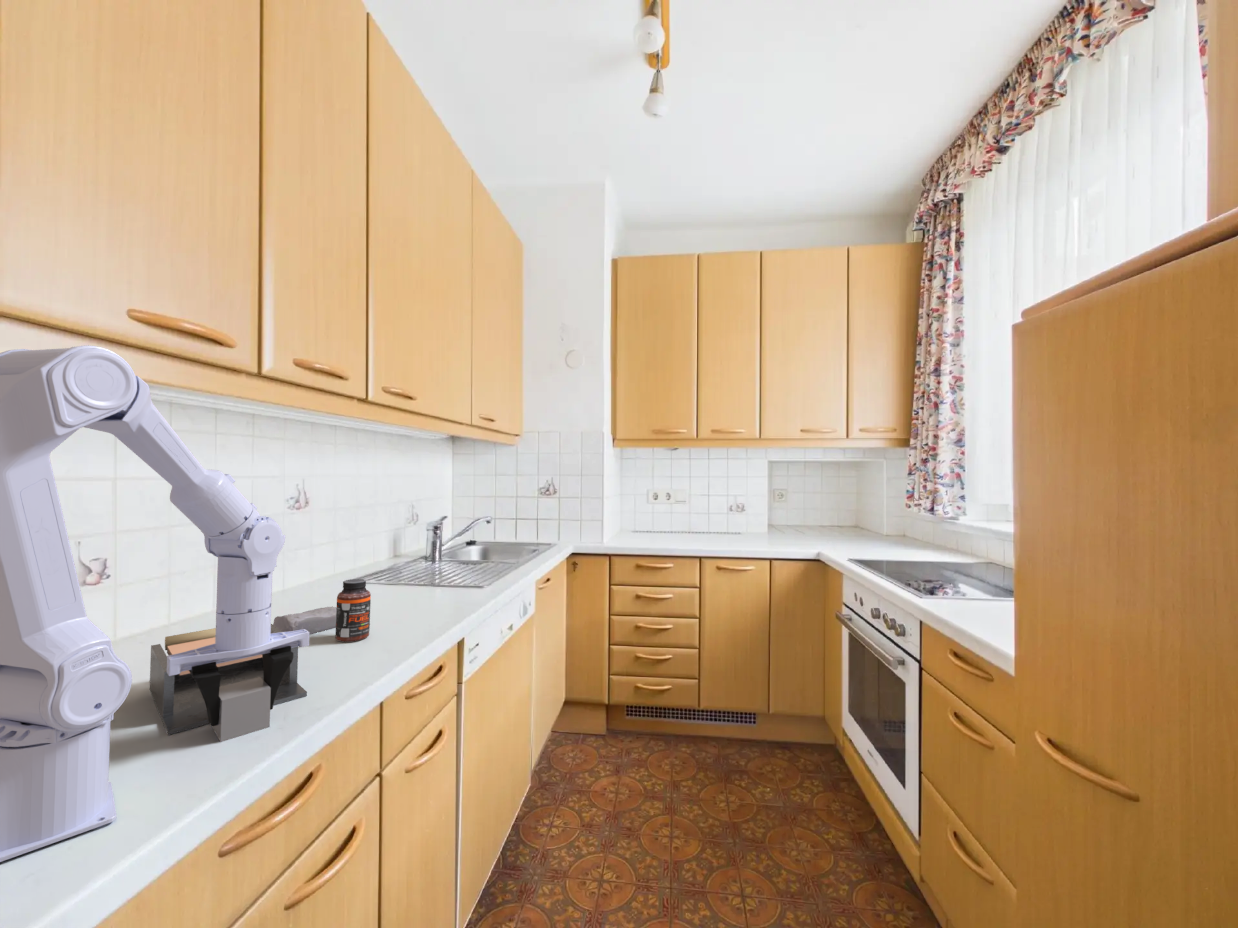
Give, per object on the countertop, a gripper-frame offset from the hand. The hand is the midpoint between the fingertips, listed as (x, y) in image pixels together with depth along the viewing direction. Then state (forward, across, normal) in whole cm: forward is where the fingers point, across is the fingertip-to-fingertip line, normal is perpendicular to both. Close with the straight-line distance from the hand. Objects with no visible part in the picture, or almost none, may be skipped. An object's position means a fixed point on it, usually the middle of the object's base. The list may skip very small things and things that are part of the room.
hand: (241, 714), depth 64 cm
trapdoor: (-4, -1, -16) cm, 17 cm away
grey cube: (+2, 0, 0) cm, 2 cm away
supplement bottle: (+2, -23, -26) cm, 35 cm away
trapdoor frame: (+2, -1, -13) cm, 14 cm away
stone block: (+2, -19, -39) cm, 44 cm away
